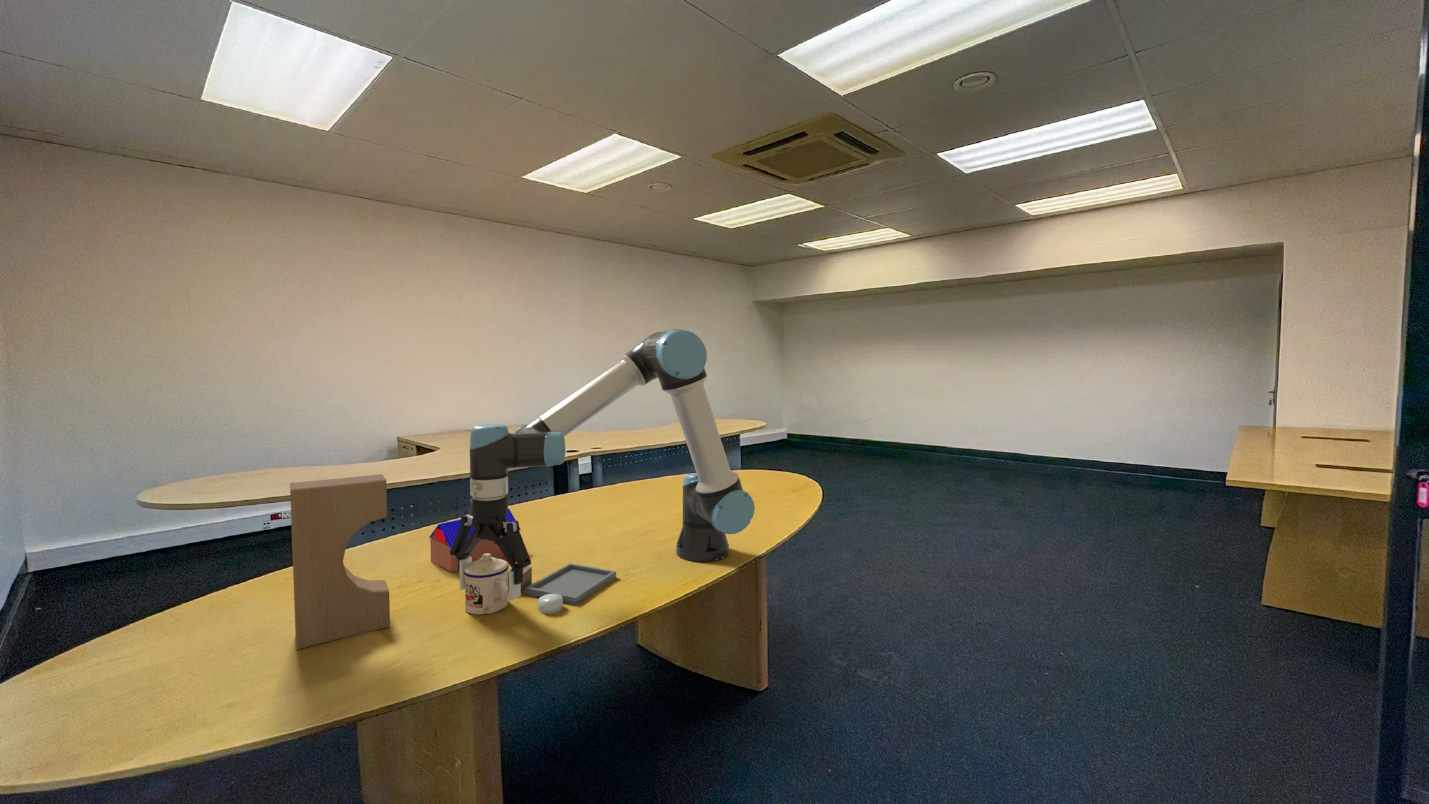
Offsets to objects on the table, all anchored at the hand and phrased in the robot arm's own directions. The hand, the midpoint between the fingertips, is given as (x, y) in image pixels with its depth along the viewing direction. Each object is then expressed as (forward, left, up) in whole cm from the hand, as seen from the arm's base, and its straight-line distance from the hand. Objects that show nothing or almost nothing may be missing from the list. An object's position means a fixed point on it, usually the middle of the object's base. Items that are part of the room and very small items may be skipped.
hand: (489, 592), depth 117 cm
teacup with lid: (0, 0, -4) cm, 4 cm away
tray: (-9, -17, -4) cm, 20 cm away
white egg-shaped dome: (-12, -5, -4) cm, 14 cm away
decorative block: (+19, +19, -4) cm, 27 cm away
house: (+27, -23, -4) cm, 36 cm away
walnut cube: (+2, -11, -4) cm, 12 cm away
